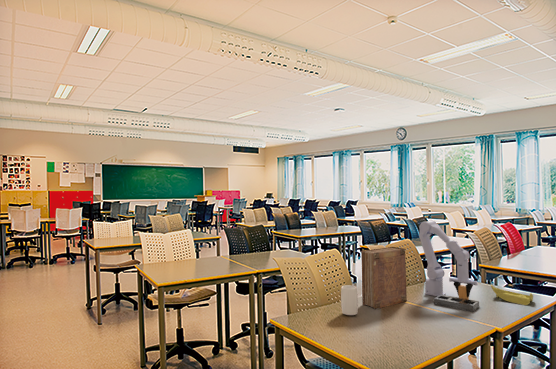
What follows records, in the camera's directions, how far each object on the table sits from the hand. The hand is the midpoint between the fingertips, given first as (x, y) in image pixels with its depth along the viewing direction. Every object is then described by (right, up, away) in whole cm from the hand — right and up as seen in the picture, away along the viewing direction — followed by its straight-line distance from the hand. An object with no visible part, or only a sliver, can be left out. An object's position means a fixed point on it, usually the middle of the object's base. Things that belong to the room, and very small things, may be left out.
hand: (463, 296), depth 206 cm
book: (-45, -4, -2) cm, 45 cm away
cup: (-68, -4, -20) cm, 71 cm away
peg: (0, -2, 0) cm, 2 cm away
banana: (+27, -2, -1) cm, 27 cm away
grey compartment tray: (-8, -2, -9) cm, 12 cm away
